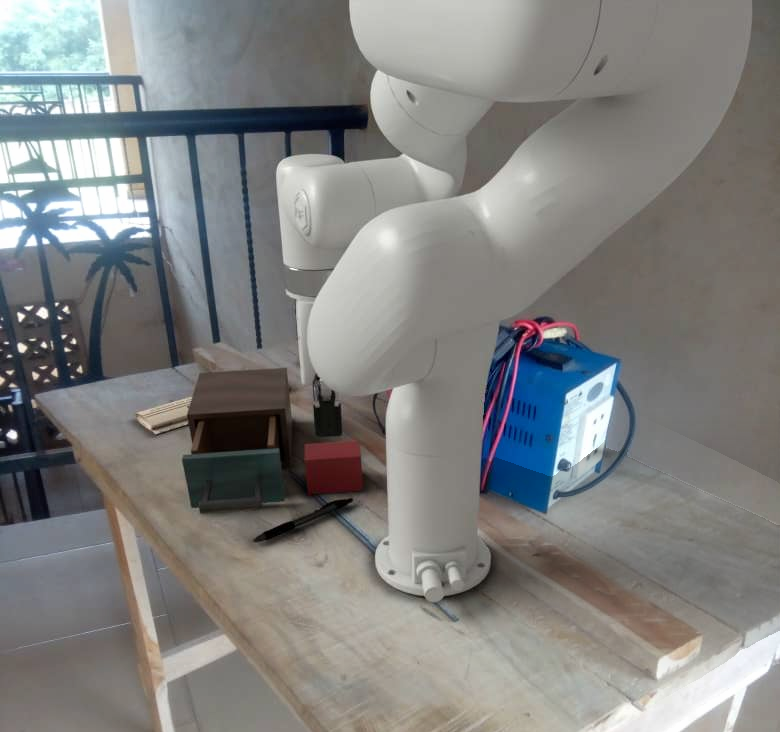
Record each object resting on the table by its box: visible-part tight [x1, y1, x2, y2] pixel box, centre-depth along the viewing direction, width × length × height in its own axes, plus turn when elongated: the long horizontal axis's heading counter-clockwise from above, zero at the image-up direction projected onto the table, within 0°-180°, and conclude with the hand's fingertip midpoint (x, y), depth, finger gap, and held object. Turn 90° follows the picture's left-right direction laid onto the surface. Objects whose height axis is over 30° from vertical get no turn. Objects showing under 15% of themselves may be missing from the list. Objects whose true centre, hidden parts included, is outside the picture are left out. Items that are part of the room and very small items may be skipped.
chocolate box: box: [304, 439, 364, 495], centre depth 96 cm, size 4×7×5 cm, turn 96°
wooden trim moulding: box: [134, 396, 192, 435], centre depth 119 cm, size 24×7×2 cm, turn 129°
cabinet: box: [187, 367, 293, 468], centre depth 105 cm, size 15×13×9 cm
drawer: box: [181, 414, 286, 514], centre depth 93 cm, size 20×11×7 cm, turn 6°
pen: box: [252, 497, 354, 544], centre depth 89 cm, size 14×2×1 cm, turn 129°
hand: (327, 417), depth 93 cm, fingers open, 9 cm apart
